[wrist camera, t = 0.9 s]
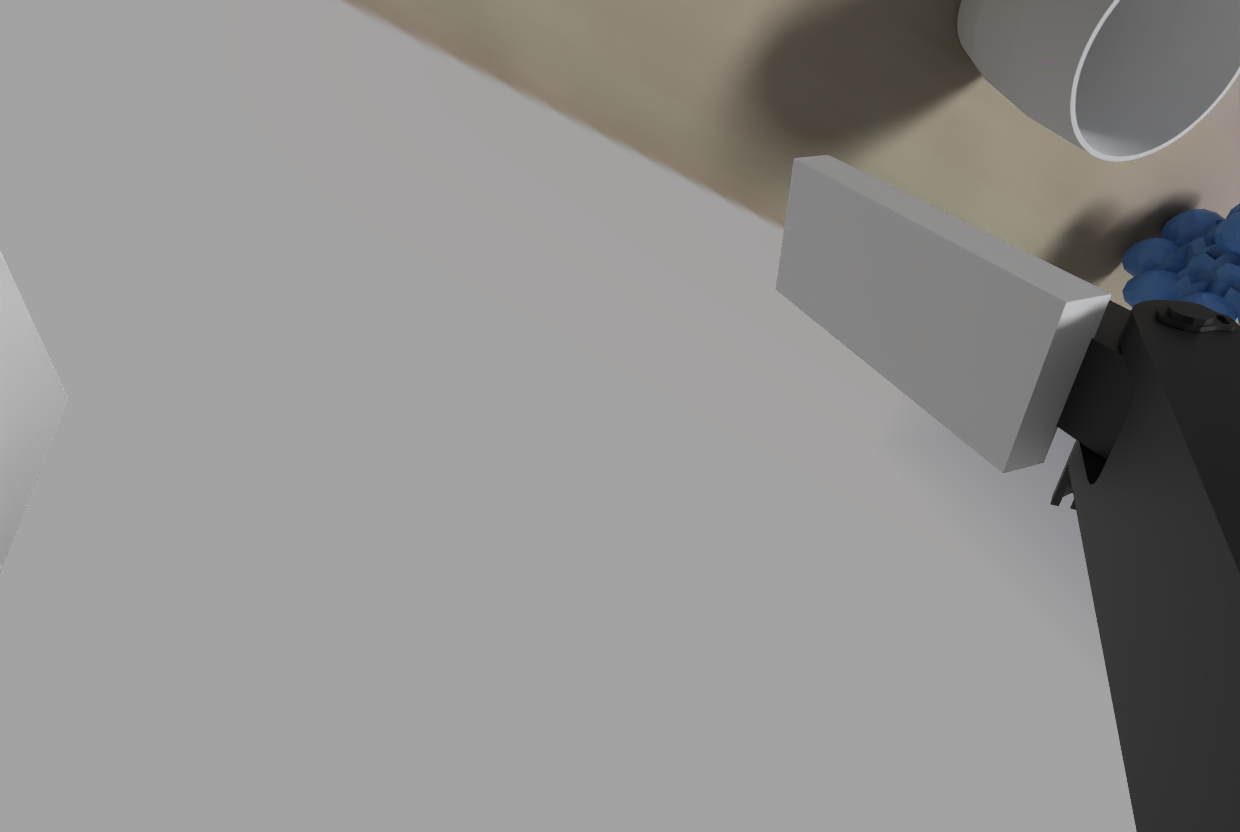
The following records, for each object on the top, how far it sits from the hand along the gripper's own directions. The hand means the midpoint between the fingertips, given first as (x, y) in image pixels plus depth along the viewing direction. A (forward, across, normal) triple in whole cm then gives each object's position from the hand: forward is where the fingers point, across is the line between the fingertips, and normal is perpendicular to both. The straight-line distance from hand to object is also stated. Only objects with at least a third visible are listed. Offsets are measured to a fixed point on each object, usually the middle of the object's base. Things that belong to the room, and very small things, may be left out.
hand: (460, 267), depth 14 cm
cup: (+20, +30, +1) cm, 37 cm away
